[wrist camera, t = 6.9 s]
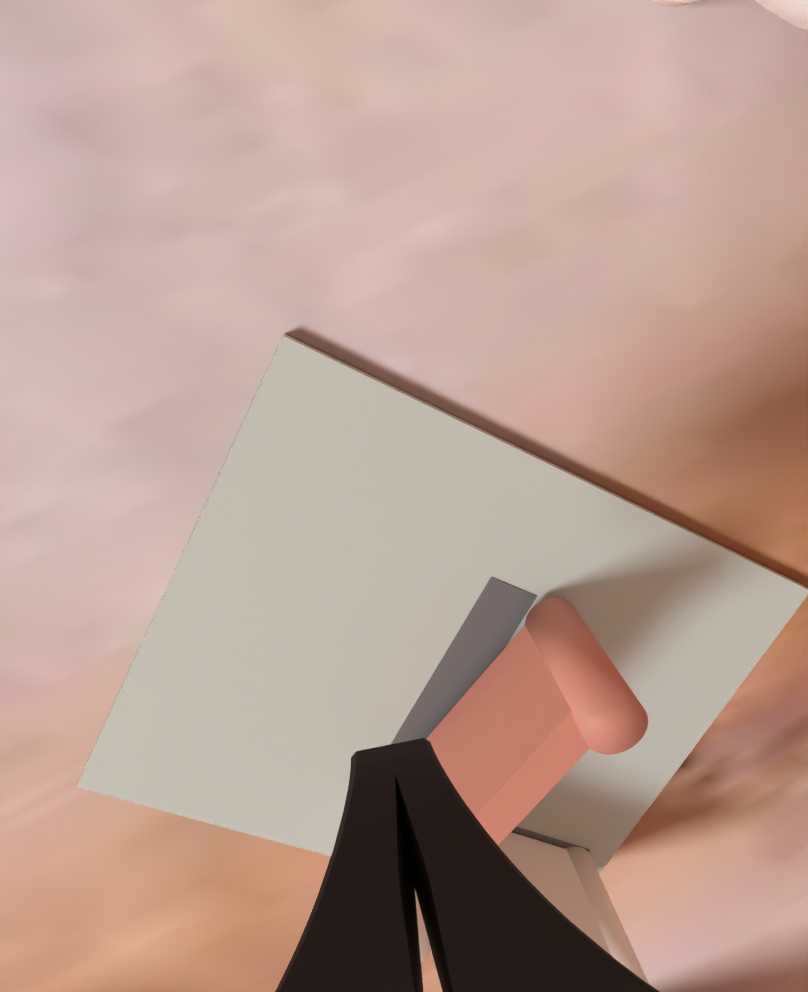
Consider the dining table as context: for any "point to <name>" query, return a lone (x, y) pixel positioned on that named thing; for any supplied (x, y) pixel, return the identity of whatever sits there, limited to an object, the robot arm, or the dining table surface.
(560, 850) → the fence base
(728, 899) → the dining table surface
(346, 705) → the card
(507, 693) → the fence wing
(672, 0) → the lightbulb
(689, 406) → the dining table surface
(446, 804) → the robot arm
